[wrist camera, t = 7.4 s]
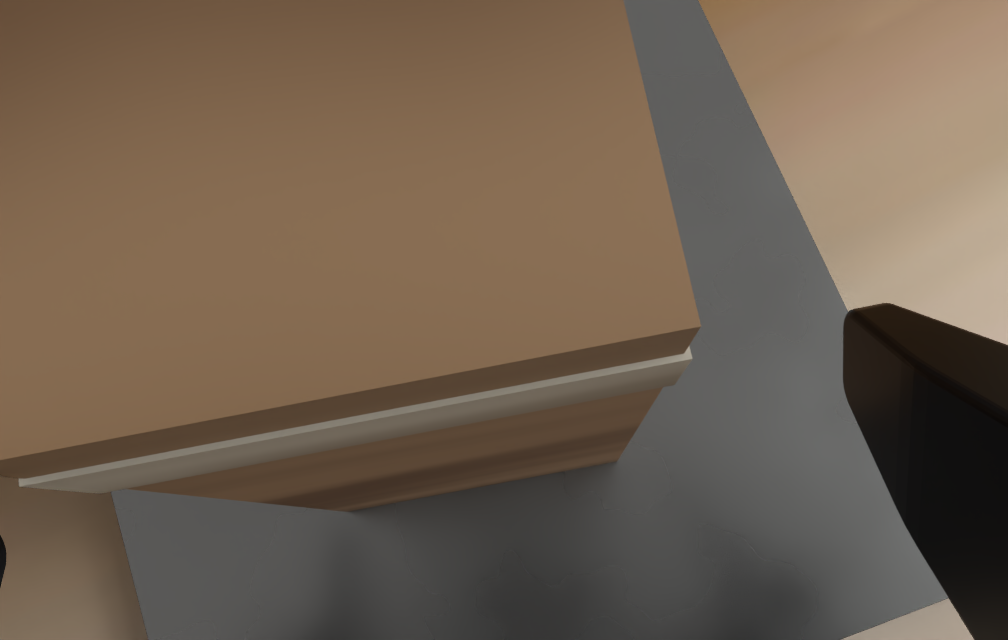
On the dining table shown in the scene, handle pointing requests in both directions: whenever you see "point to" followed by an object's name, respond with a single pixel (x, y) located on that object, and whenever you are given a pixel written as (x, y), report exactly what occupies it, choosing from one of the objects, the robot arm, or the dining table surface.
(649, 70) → the keeper
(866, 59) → the dining table surface
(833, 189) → the dining table surface
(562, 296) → the link block
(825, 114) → the dining table surface
